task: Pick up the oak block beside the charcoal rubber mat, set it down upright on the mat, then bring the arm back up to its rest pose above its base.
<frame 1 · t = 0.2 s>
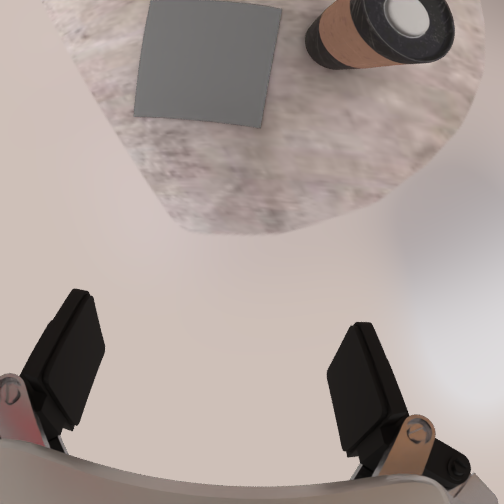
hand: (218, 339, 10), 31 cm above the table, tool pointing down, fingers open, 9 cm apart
charcoal mat: (205, 58, 30), on the table
travel mug: (332, 44, 30), on the table
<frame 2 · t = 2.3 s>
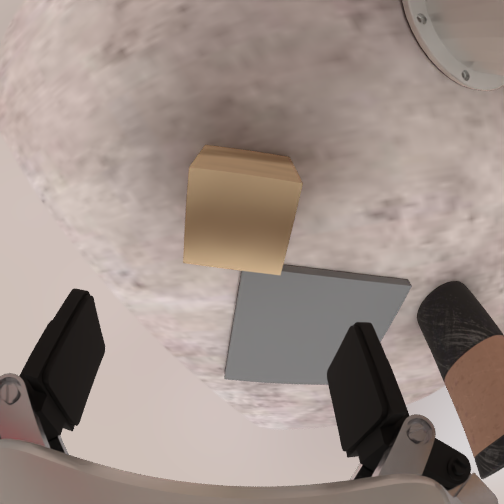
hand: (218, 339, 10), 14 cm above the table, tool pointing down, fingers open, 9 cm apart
oak block: (241, 189, 22), on the table
charcoal mat: (310, 333, 30), on the table
travel mug: (442, 304, 29), on the table
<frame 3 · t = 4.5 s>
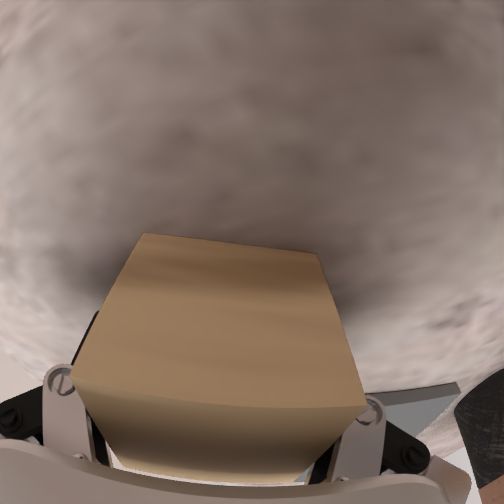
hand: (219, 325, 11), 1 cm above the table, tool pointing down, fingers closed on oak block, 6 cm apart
oak block: (221, 309, 12), on the table, touching gripper
charcoal mat: (322, 446, 19), on the table
travel mug: (484, 391, 19), on the table
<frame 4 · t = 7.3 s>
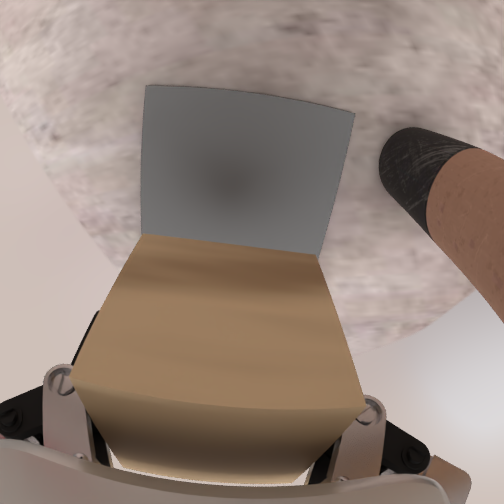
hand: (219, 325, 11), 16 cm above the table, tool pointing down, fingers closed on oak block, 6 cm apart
oak block: (220, 310, 12), point 15 cm above the table, touching gripper
charcoal mat: (237, 188, 25), on the table
travel mug: (411, 164, 24), on the table
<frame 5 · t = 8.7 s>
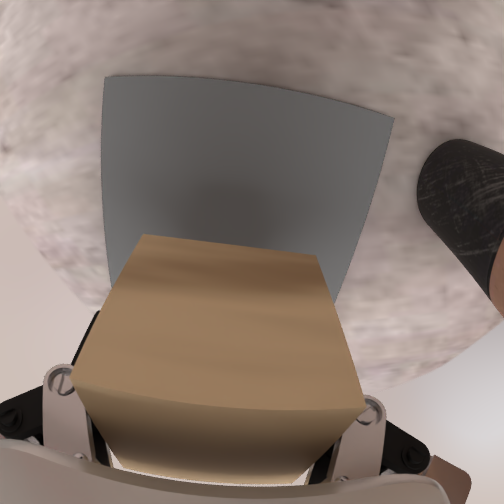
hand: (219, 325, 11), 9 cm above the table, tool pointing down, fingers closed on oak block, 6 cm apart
oak block: (221, 311, 12), point 8 cm above the table, touching gripper
charcoal mat: (231, 216, 18), on the table
travel mug: (454, 185, 17), on the table
when the fingers open (3 cm above the table, at t = 10.2 s): oak block drops 1 cm, resting on charcoal mat.
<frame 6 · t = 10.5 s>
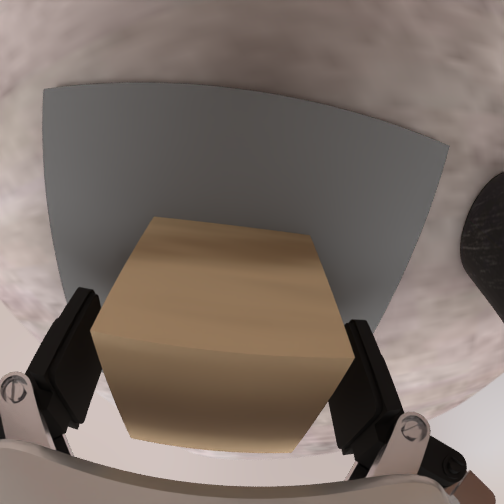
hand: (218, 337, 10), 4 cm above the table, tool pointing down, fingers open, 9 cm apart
oak block: (224, 289, 13), point 1 cm above the table, touching charcoal mat
charcoal mat: (224, 276, 14), on the table
travel mug: (500, 226, 13), on the table
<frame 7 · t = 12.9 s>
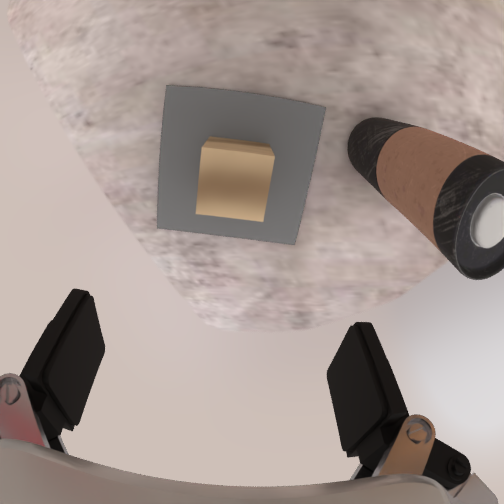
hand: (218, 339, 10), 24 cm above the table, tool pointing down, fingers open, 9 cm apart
oak block: (235, 167, 30), point 1 cm above the table, touching charcoal mat
charcoal mat: (235, 165, 31), on the table
travel mug: (375, 147, 30), on the table
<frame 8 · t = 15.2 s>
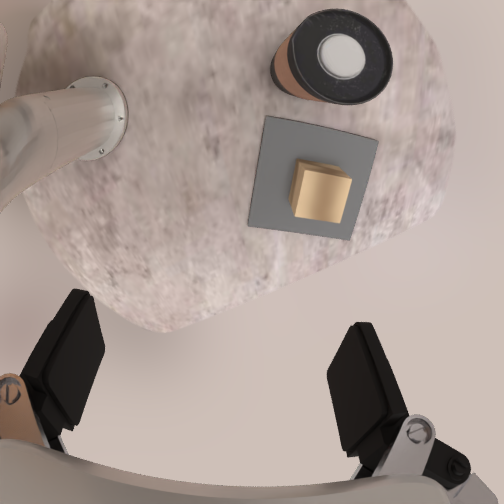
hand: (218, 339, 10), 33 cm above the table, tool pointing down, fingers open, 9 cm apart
oak block: (313, 182, 41), point 1 cm above the table, touching charcoal mat
charcoal mat: (312, 180, 41), on the table
travel mug: (297, 70, 34), on the table
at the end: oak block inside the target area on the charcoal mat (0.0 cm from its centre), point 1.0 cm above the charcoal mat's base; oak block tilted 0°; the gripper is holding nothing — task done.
